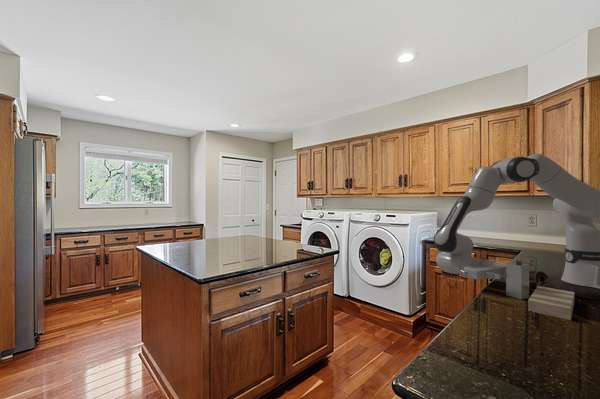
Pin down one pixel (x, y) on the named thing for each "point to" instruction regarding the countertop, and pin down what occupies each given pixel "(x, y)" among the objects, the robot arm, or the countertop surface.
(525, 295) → the aluminium block
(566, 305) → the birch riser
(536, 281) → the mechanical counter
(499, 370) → the countertop surface
